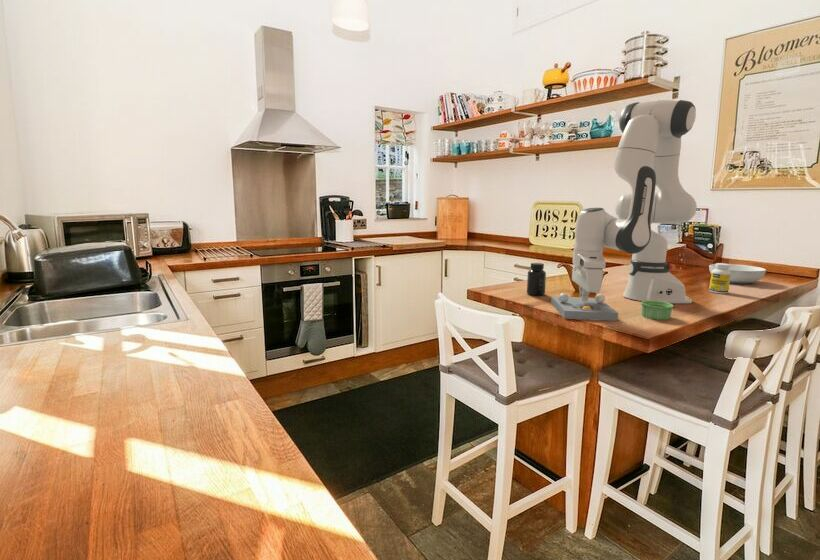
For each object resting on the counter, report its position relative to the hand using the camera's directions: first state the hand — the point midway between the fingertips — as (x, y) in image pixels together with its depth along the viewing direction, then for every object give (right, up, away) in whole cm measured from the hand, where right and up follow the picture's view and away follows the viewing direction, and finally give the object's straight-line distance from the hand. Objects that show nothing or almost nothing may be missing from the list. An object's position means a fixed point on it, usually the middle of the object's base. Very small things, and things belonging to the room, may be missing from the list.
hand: (583, 300), depth 146 cm
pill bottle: (+68, +1, +34) cm, 76 cm away
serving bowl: (+91, +6, +57) cm, 108 cm away
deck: (0, -4, +1) cm, 4 cm away
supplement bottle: (-9, +1, +25) cm, 27 cm away
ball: (-1, -3, -5) cm, 6 cm away
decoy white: (+6, 0, +1) cm, 6 cm away
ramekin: (+21, -5, -4) cm, 22 cm away
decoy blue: (-6, +1, +2) cm, 6 cm away
